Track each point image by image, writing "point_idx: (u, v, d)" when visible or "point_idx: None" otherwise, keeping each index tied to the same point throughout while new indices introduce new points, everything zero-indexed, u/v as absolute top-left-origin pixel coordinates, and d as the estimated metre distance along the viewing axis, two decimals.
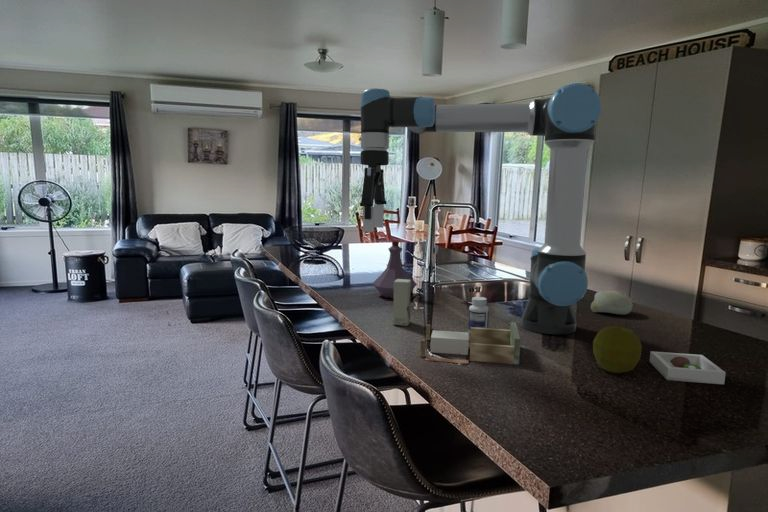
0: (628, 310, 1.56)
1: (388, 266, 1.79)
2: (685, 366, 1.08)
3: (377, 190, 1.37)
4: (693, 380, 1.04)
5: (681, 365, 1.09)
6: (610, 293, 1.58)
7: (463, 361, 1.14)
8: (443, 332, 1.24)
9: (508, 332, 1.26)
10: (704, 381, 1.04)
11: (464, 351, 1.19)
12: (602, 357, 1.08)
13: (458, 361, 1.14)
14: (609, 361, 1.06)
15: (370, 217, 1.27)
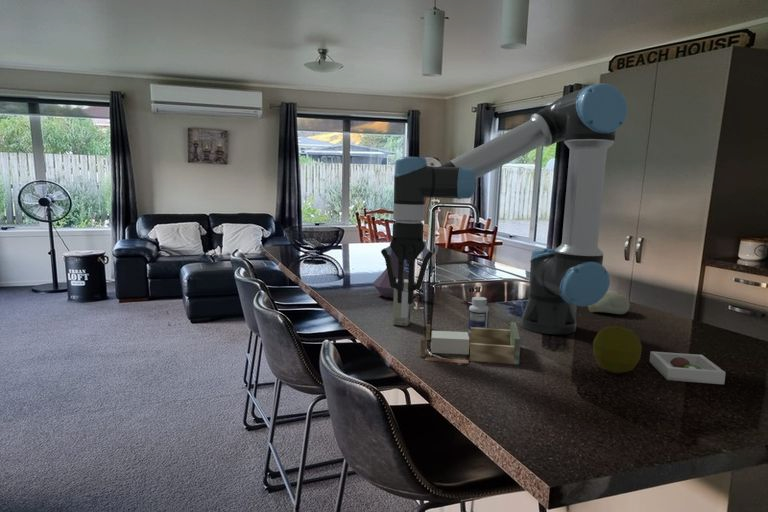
0: (625, 310, 1.57)
1: None
2: (685, 367, 1.08)
3: None
4: (693, 380, 1.04)
5: (681, 366, 1.09)
6: (607, 293, 1.58)
7: (463, 361, 1.14)
8: (442, 332, 1.24)
9: (508, 332, 1.26)
10: (704, 381, 1.04)
11: (465, 350, 1.19)
12: (602, 357, 1.08)
13: (458, 361, 1.14)
14: (609, 361, 1.06)
15: (399, 301, 1.23)
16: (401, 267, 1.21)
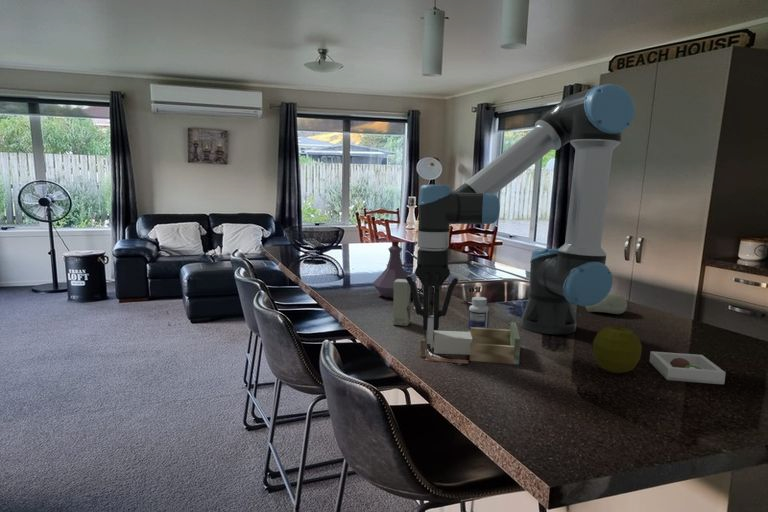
0: (623, 309, 1.57)
1: (388, 266, 1.79)
2: None
3: None
4: (693, 380, 1.04)
5: (681, 367, 1.08)
6: None
7: (463, 361, 1.14)
8: (445, 332, 1.24)
9: (508, 332, 1.26)
10: (704, 381, 1.04)
11: (468, 350, 1.19)
12: (602, 357, 1.08)
13: (458, 361, 1.14)
14: (609, 362, 1.06)
15: (425, 327, 1.22)
16: (426, 294, 1.21)
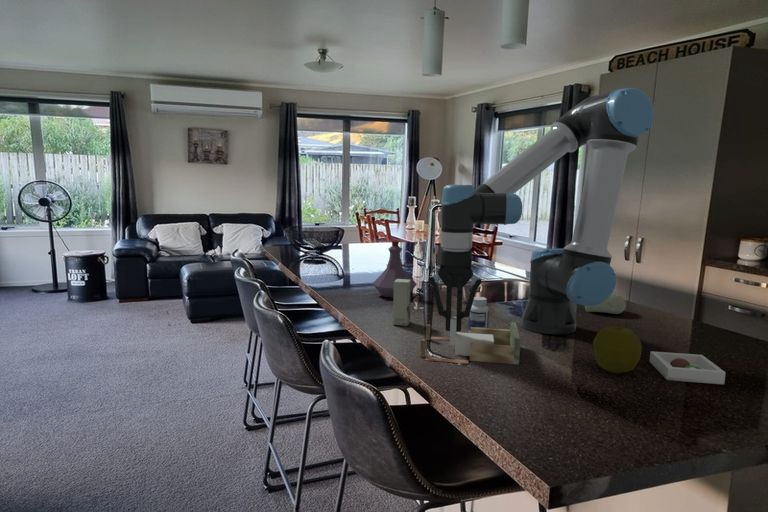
0: (622, 309, 1.57)
1: (388, 266, 1.79)
2: None
3: None
4: (693, 380, 1.04)
5: (682, 367, 1.08)
6: None
7: (463, 361, 1.14)
8: (467, 334, 1.23)
9: (508, 332, 1.26)
10: (704, 381, 1.04)
11: None
12: (602, 357, 1.08)
13: (458, 361, 1.14)
14: (609, 361, 1.06)
15: (447, 329, 1.21)
16: (449, 295, 1.20)
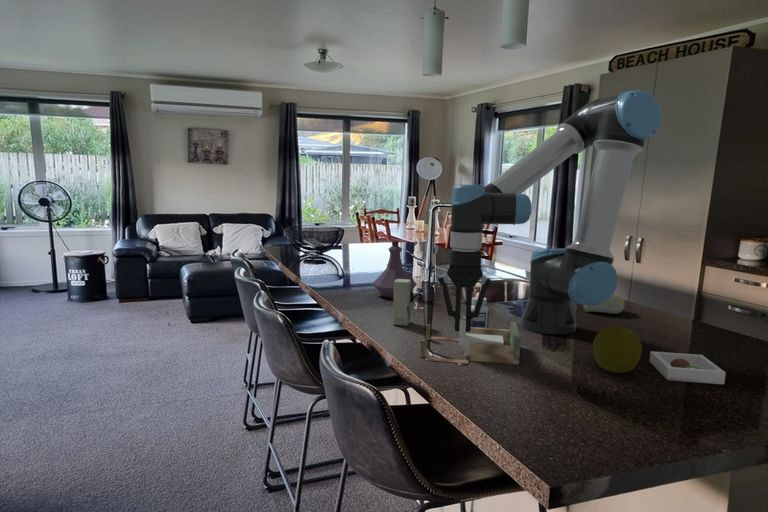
0: (621, 309, 1.57)
1: (388, 266, 1.79)
2: None
3: None
4: (693, 380, 1.04)
5: (682, 367, 1.08)
6: None
7: (463, 361, 1.14)
8: (476, 335, 1.22)
9: (508, 332, 1.26)
10: (704, 381, 1.04)
11: None
12: (602, 357, 1.08)
13: (458, 361, 1.14)
14: (609, 361, 1.06)
15: (457, 329, 1.21)
16: (459, 295, 1.19)
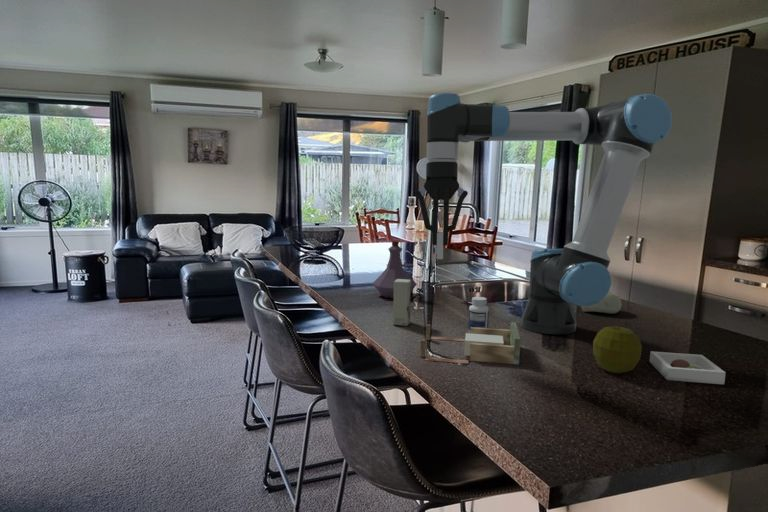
0: (618, 309, 1.58)
1: (388, 266, 1.79)
2: None
3: None
4: (693, 380, 1.04)
5: None
6: None
7: (463, 361, 1.14)
8: (477, 335, 1.22)
9: (508, 332, 1.26)
10: (704, 381, 1.04)
11: None
12: (602, 357, 1.08)
13: (458, 361, 1.14)
14: (609, 361, 1.06)
15: (434, 243, 1.21)
16: (436, 208, 1.19)
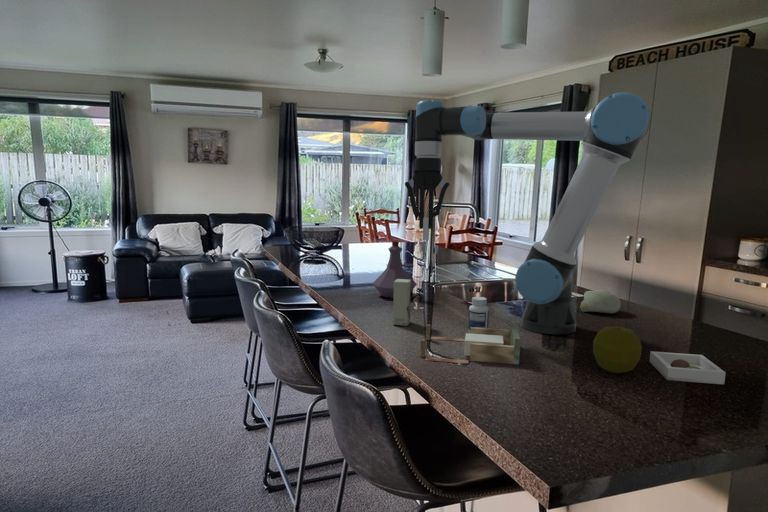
0: (617, 309, 1.58)
1: (388, 266, 1.79)
2: None
3: (429, 198, 1.42)
4: (693, 380, 1.04)
5: None
6: (599, 292, 1.59)
7: (463, 361, 1.14)
8: (477, 335, 1.22)
9: (508, 332, 1.26)
10: (704, 381, 1.04)
11: None
12: (602, 357, 1.08)
13: (458, 361, 1.14)
14: (609, 362, 1.06)
15: (421, 227, 1.43)
16: (422, 197, 1.41)
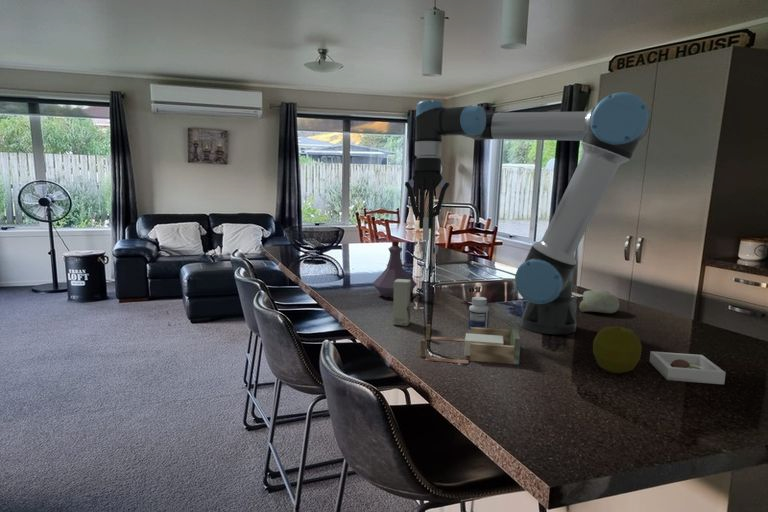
0: (616, 309, 1.58)
1: (388, 266, 1.79)
2: None
3: (429, 198, 1.42)
4: (693, 380, 1.04)
5: None
6: (598, 292, 1.59)
7: (463, 361, 1.14)
8: (477, 335, 1.22)
9: (508, 332, 1.26)
10: (704, 381, 1.04)
11: None
12: (602, 357, 1.08)
13: (458, 361, 1.14)
14: (609, 361, 1.06)
15: (421, 227, 1.43)
16: (422, 197, 1.41)
